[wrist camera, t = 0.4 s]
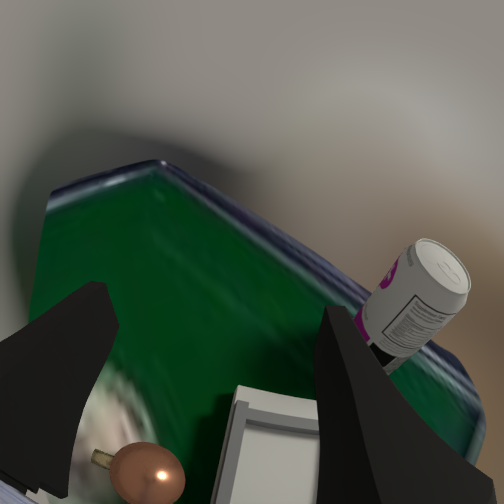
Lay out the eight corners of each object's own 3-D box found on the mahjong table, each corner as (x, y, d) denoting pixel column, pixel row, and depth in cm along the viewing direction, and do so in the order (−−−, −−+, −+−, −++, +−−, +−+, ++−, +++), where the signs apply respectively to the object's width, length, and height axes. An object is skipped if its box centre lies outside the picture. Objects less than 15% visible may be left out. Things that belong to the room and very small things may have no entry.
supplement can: (326, 338, 34) (394, 242, 24) (368, 314, 38) (432, 229, 28) (366, 392, 29) (458, 312, 19) (405, 360, 33) (483, 282, 23)
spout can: (176, 513, 17) (177, 519, 13) (100, 487, 16) (80, 484, 12) (189, 462, 20) (193, 454, 16) (116, 438, 20) (101, 422, 16)
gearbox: (355, 545, 16) (377, 546, 13) (201, 539, 15) (206, 545, 13) (363, 381, 30) (380, 368, 28) (241, 357, 29) (249, 340, 27)
